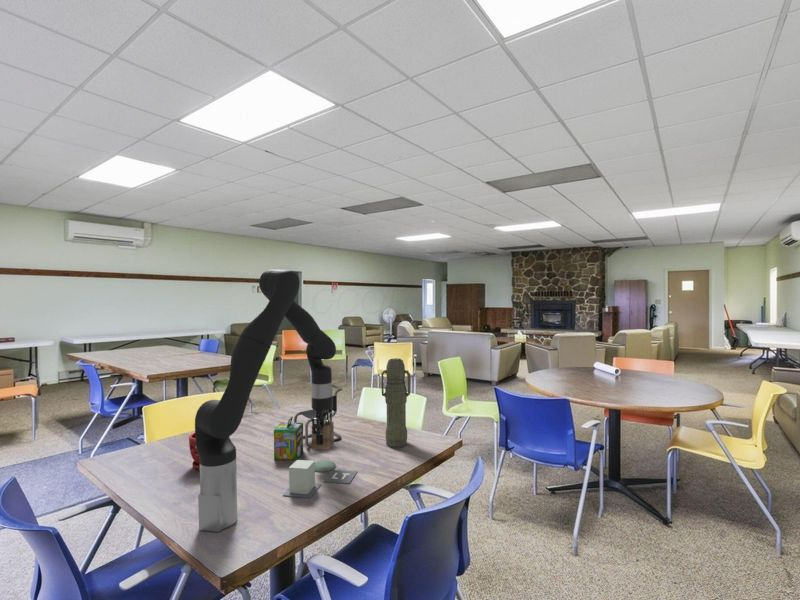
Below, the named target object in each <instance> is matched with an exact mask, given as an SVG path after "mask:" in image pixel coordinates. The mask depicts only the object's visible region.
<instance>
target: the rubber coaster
mask: <svg viewBox="0 0 800 600" xmlns="http://www.w3.org/2000/svg"><path fill="white" fill-rule="evenodd" d="M336 464H337V463H335V462H334V461H333V460H319V461H315V473H326V472H331V471H332V470H335V468H336V466H337V465H336Z"/></svg>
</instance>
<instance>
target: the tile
mask: <svg viewBox="0 0 800 600" xmlns="http://www.w3.org/2000/svg"><path fill="white" fill-rule="evenodd" d="M357 474H358V471H355V470H341V469H332V470H330V471H329V474H328V475H327V476H326V477H325V478H324V480H323V481H322V482H323V483H330V484H331V483H333V484H343V485H344V484H345V485H349V484H351V482H352V481H353V479H354V478H355V476H356V475H357Z"/></svg>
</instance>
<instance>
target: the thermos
mask: <svg viewBox="0 0 800 600" xmlns="http://www.w3.org/2000/svg"><path fill="white" fill-rule="evenodd" d="M405 368H406V367H405V363H404V360H403V359H401V358H398V357H397V358H390V359H388V360H387V363H386V369H384V370H383V371H382V372H381V375H380V376H381V396H382V397H384V399H385V404H386V428H385V445H386V447H388V448H392V449H400V448H403V447H406V446H407V445H408V440H407V439H408V429H407V422H406V421H407V419H406V418H407V416H406V414H407V411H406V409H407V408H406V404H407V402H408V401H407V399H408V397H409V396H410V395H411V373H410V372H409V370H406V369H405ZM384 374H385V375H386V385H385V388H384ZM406 375H407V386H406V381H405V379H406V378H405V377H406ZM384 389H385V390H384Z"/></svg>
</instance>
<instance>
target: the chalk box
mask: <svg viewBox="0 0 800 600" xmlns="http://www.w3.org/2000/svg"><path fill="white" fill-rule="evenodd" d="M293 417H294V416H293V415H292V416H291V417H290V418H289V419H288V422H287V421H286V422H279V424H278V425H277V426H276V427H275V429H273V460H290V461H291V460H292V461H293V460H295V461H296V460H299V458H300V456H301V455H302V453H303V452H304V438H303V436H304V423H303V422H297V423H294V422H292V421H293Z"/></svg>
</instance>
